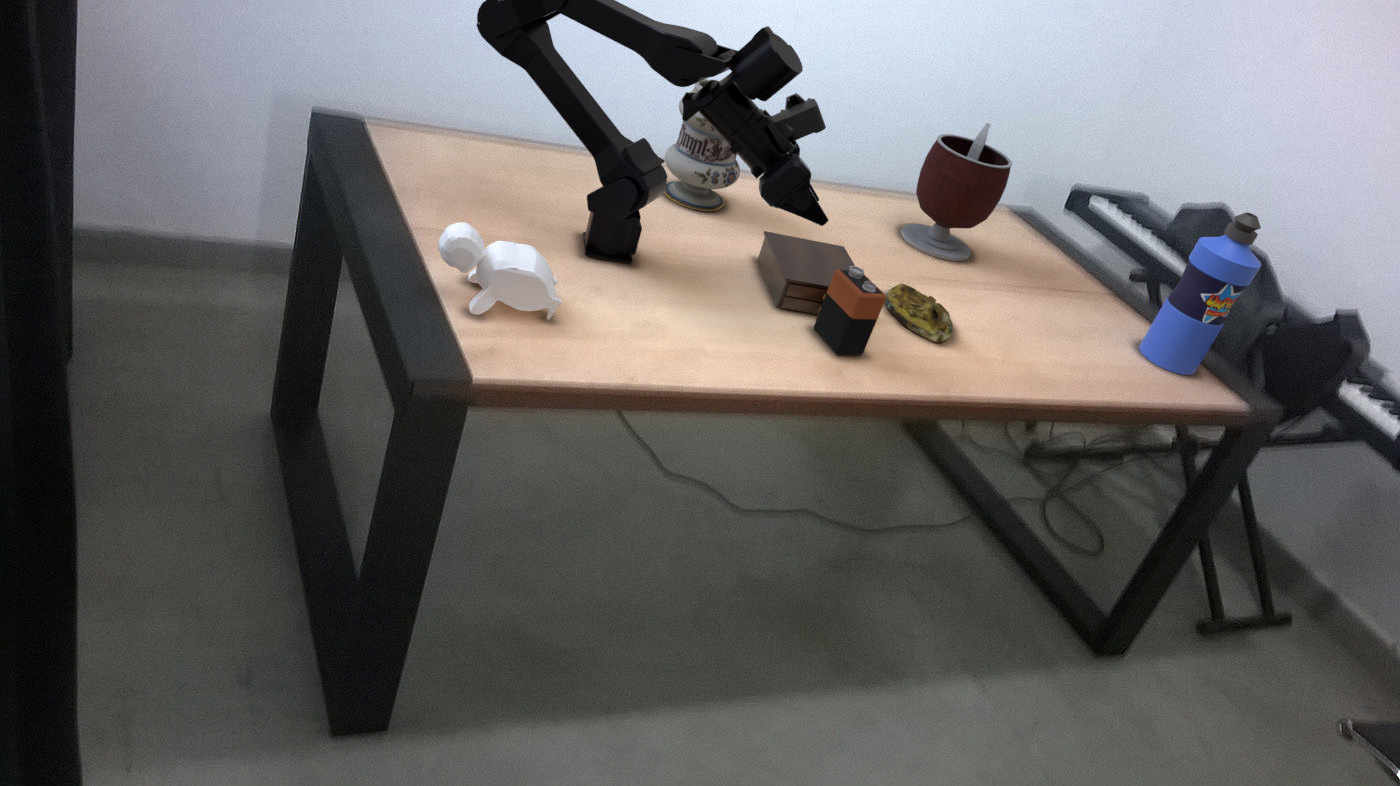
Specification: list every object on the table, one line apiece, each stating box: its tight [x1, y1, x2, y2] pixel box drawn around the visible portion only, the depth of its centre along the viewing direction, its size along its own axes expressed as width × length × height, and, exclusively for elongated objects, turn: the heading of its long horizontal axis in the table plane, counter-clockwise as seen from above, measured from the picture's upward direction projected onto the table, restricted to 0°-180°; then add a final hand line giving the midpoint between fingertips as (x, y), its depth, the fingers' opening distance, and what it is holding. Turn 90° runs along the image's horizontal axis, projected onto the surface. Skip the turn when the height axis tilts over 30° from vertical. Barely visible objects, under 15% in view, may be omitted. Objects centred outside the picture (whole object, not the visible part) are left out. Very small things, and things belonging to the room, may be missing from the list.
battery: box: [813, 265, 886, 356], centre depth 138 cm, size 4×7×10 cm, turn 25°
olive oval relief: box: [884, 283, 954, 344], centre depth 154 cm, size 9×5×15 cm
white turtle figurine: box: [438, 221, 562, 321], centre depth 123 cm, size 9×8×15 cm
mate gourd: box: [900, 122, 1013, 262], centre depth 178 cm, size 16×14×20 cm
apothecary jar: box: [663, 78, 741, 212], centre depth 165 cm, size 12×12×18 cm
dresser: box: [756, 230, 856, 315], centre depth 150 cm, size 13×16×5 cm
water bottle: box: [1138, 212, 1262, 376], centre depth 161 cm, size 9×9×25 cm
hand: (820, 212), depth 137 cm, fingers open, 9 cm apart
